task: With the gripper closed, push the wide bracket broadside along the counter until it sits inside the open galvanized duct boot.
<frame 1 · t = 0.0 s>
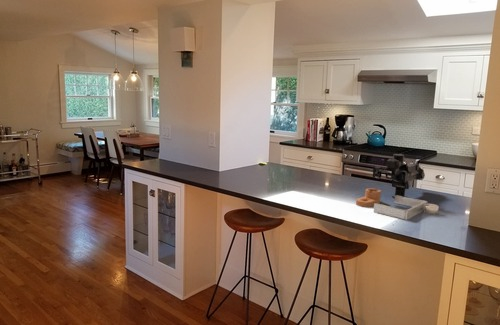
hand: (382, 176, 205), 17 cm above the countertop, tool horizontal, fingers open, 9 cm apart
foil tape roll: (430, 212, 197), on the countertop
bracket: (368, 203, 212), on the countertop
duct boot: (399, 210, 200), on the countertop
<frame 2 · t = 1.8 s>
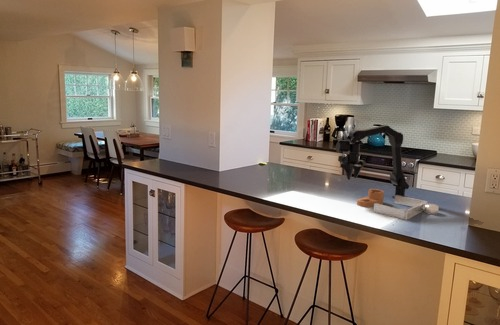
hand: (351, 178, 217), 12 cm above the countertop, tool pointing down, fingers open, 7 cm apart
bracket: (370, 204, 211), on the countertop
everything else where it was.
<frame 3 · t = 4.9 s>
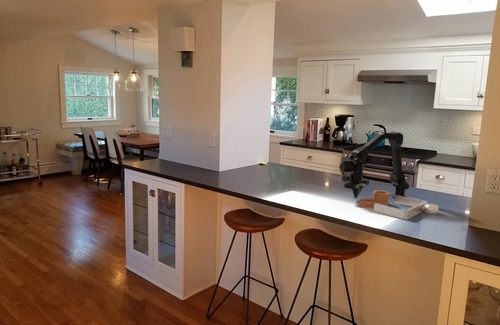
hand: (355, 198, 217), 1 cm above the countertop, tool pointing down, fingers closed
bracket: (373, 205, 209), on the countertop
everything else where it was.
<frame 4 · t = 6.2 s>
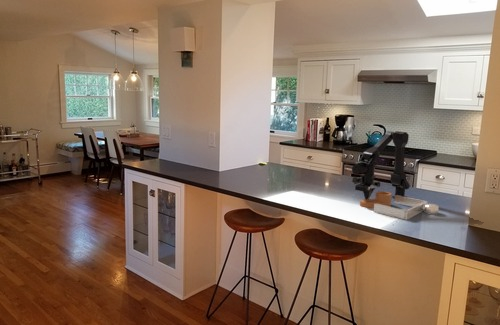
hand: (366, 200, 213), 1 cm above the countertop, tool pointing down, fingers closed
bracket: (375, 206, 208), on the countertop
everything else where it was.
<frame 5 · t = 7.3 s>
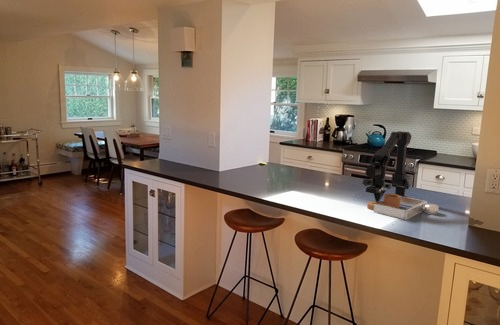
hand: (377, 202, 208), 1 cm above the countertop, tool pointing down, fingers closed
bracket: (383, 208, 203), on the countertop, touching gripper
everything else where it was.
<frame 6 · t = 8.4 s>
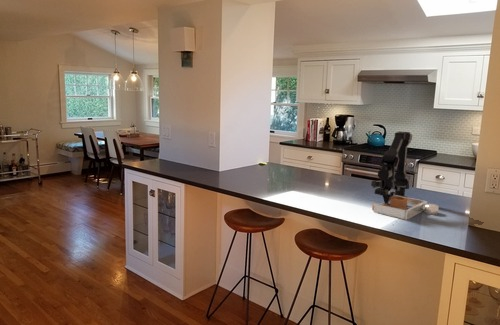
hand: (386, 204, 205), 1 cm above the countertop, tool pointing down, fingers closed
bracket: (389, 211, 199), on the countertop
everything else where it was.
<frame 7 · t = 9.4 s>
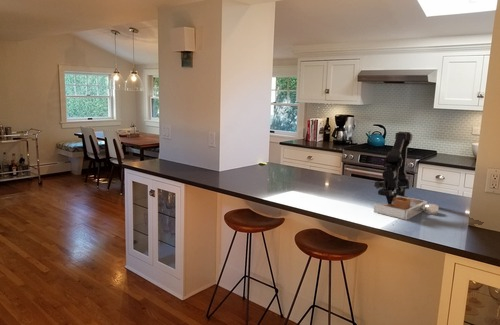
hand: (389, 205, 203), 1 cm above the countertop, tool pointing down, fingers closed
bracket: (391, 211, 198), on the countertop
everything else where it was.
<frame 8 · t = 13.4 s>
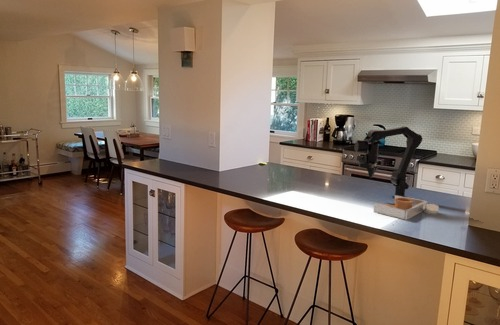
hand: (370, 178, 221), 12 cm above the countertop, tool pointing down, fingers closed
at the end: bracket inside the target area on the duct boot (4.9 cm from its centre), point -0.5 cm above the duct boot's base; bracket moved 17.4 cm from its start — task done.
